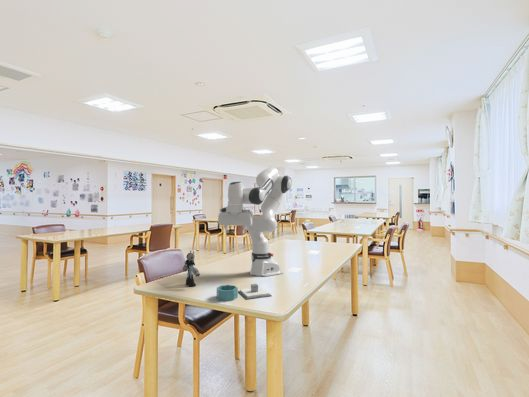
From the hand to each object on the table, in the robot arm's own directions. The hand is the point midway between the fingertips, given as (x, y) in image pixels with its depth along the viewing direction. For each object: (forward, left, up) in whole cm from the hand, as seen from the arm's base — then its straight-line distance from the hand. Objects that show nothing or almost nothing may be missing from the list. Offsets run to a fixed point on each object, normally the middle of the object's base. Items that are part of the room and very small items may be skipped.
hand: (234, 233), depth 176 cm
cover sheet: (-6, +17, -30) cm, 35 cm away
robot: (+23, -13, -31) cm, 41 cm away
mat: (-6, +17, -31) cm, 36 cm away
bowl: (+9, +17, -31) cm, 36 cm away
